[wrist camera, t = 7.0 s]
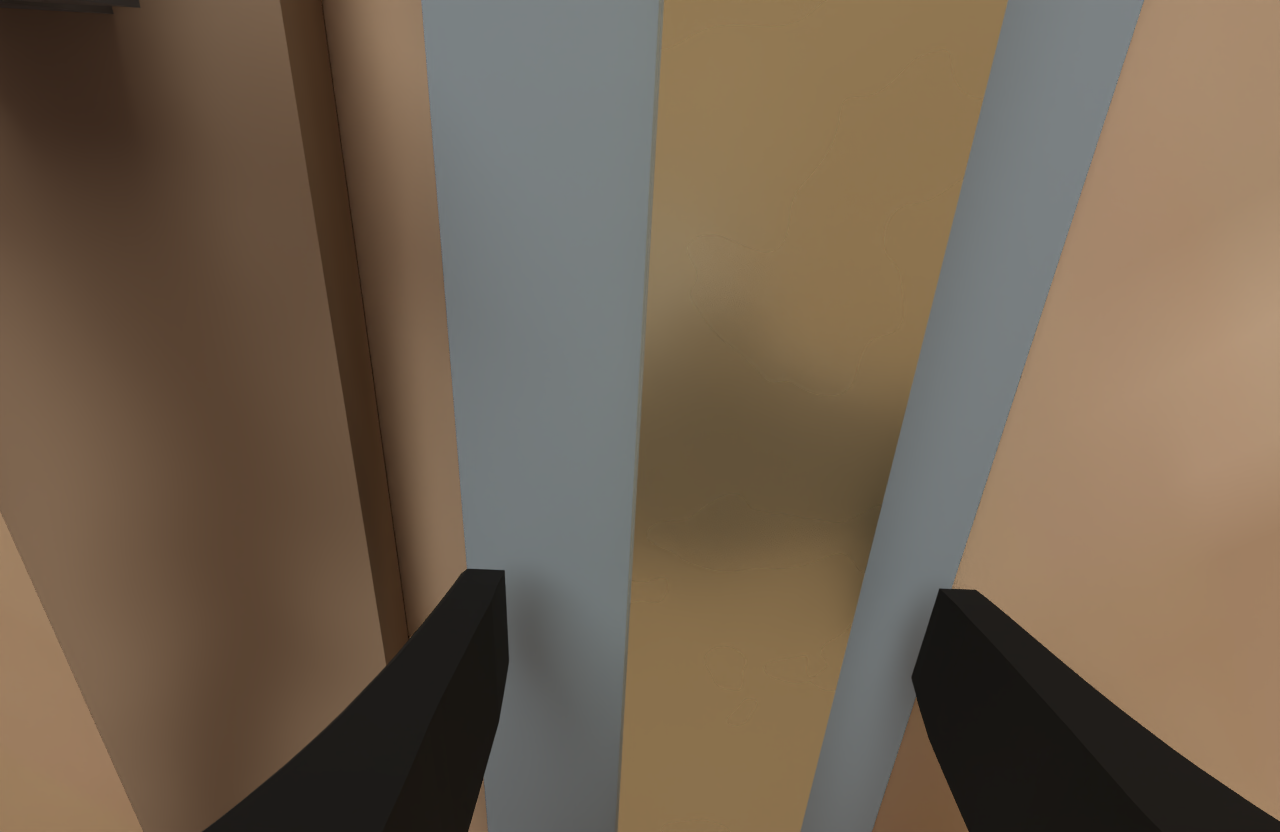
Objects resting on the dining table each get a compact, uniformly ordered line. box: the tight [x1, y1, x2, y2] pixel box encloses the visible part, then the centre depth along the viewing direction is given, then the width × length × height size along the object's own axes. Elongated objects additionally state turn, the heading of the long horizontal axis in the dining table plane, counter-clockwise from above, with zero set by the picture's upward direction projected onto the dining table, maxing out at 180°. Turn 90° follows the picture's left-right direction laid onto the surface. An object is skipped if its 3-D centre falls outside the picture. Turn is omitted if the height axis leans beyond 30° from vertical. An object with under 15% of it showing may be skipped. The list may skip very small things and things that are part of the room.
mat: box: [421, 0, 1144, 832], centre depth 13 cm, size 9×30×1 cm, turn 177°
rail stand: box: [0, 0, 409, 832], centre depth 10 cm, size 6×24×6 cm, turn 177°
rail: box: [615, 0, 1008, 832], centre depth 11 cm, size 3×26×3 cm, turn 177°
